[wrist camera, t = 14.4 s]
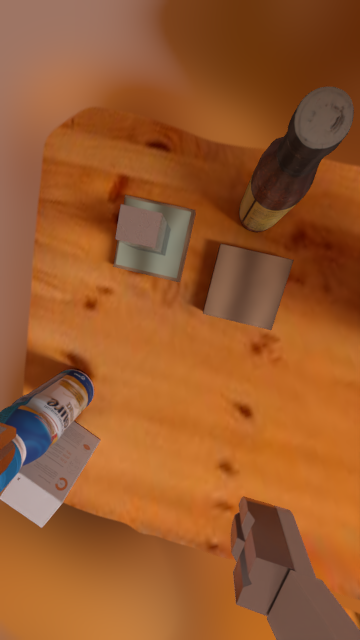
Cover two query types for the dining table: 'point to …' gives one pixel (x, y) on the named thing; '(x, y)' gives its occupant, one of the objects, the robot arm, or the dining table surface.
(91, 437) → the small box
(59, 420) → the beverage bottle
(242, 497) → the robot arm
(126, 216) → the housing
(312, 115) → the sauce bottle
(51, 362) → the dining table surface
